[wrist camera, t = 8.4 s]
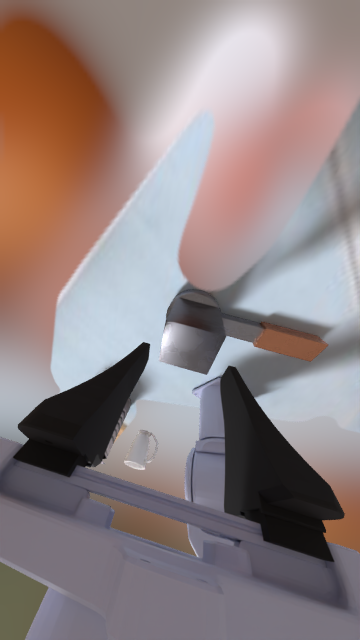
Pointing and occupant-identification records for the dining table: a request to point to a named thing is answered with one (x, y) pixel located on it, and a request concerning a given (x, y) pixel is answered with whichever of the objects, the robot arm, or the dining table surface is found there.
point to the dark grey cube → (192, 336)
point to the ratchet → (261, 331)
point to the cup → (140, 451)
